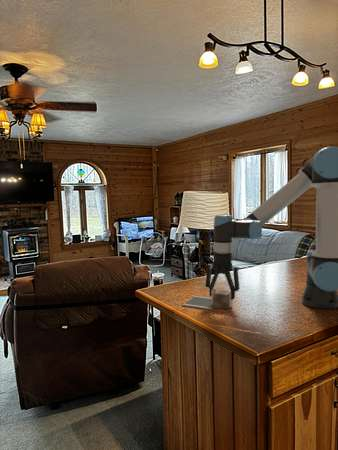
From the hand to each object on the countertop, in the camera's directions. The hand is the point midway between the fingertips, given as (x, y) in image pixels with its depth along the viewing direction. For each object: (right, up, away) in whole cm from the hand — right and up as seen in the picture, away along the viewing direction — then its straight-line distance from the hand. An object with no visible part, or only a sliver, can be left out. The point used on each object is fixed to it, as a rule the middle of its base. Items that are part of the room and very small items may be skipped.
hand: (221, 304), depth 143 cm
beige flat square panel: (+1, -1, 0) cm, 1 cm away
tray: (-8, -1, +4) cm, 9 cm away
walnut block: (0, -1, 0) cm, 1 cm away
